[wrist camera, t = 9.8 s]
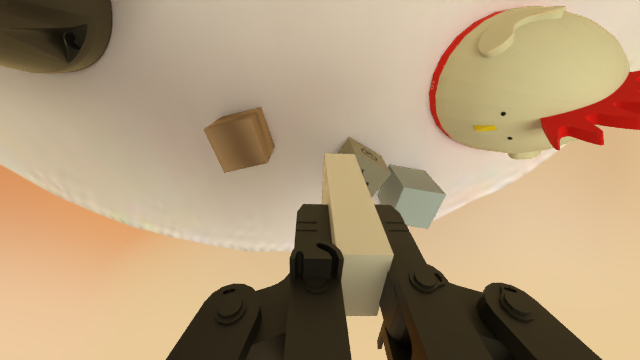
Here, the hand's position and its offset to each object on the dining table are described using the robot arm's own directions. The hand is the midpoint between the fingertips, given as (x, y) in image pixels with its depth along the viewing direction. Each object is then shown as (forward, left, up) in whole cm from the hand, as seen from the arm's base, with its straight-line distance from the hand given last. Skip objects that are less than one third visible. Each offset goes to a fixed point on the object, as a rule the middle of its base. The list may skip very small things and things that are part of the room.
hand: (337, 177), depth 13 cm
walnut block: (-9, -3, -18) cm, 20 cm away
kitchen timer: (+19, +3, -18) cm, 26 cm away
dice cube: (+4, -7, -18) cm, 20 cm away
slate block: (+11, -10, -18) cm, 23 cm away
